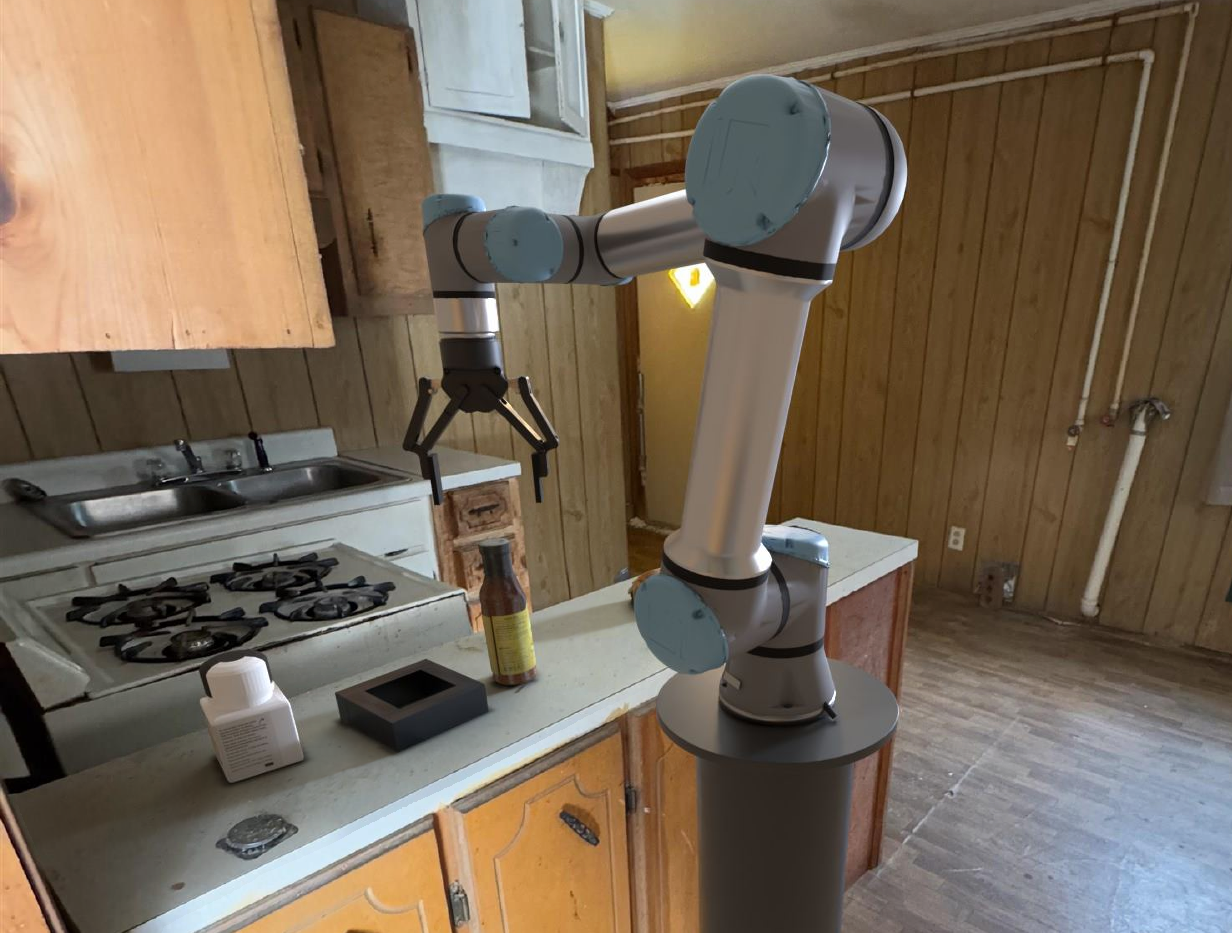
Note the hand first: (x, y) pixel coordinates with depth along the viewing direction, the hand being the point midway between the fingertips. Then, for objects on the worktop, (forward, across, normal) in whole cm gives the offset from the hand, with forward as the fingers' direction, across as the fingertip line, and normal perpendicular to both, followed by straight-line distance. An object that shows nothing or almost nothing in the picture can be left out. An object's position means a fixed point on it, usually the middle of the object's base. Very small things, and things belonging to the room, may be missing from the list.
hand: (489, 502), depth 108 cm
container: (+24, +24, +27) cm, 43 cm away
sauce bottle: (+24, -2, +7) cm, 25 cm away
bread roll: (+24, -23, -21) cm, 39 cm away
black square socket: (+23, +9, +18) cm, 31 cm away
